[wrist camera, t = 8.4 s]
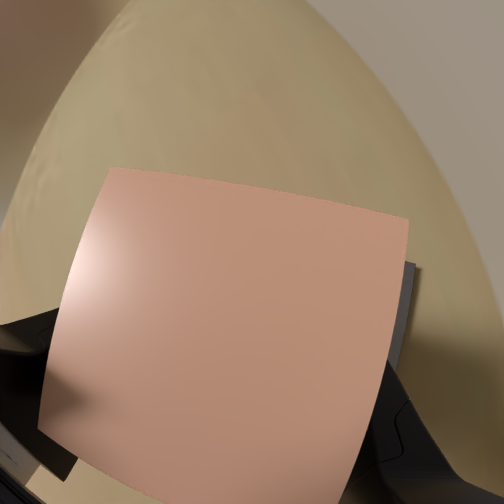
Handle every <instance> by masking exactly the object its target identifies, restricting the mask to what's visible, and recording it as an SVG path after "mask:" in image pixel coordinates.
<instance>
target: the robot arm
mask: <svg viewBox="0 0 504 504" xmlns="http://www.w3.org/2000/svg"><path fill="white" fill-rule="evenodd" d="M59 308H60V307H59ZM59 308H56V309H54V310H51V311H48V312H45V313H41V314H38V315H35V316H32V317H28V318H25V319H22V320H18V321H15V322H11V323H8V324H4V325H0V504H46V503H45V502H44V501H42V500H41V499H40V498H39V497H37V496H36V495H35V494H34V493H32V492H31V491H30V490H29V489H28V488H26V487H25V485H26V484H27V482H28V481H29V480H30V478H31V477H32V475H33V474H34V473H35V471H36V470H37V468H38V467H39V466H40V465H41V466H43V467H44V468H45V469H46V470H48V471H49V472H50V473H52V474H53V475H54V476H56V477H57V478H59V479H60V480H61V481H63V482H64V481H65V480H66V478H67V477H68V475H69V473H70V471H71V470H72V468H73V466H74V465H75V463H76V461H77V460H78V458H79V457H77V456H76V455H74V454H73V453H71V452H70V451H68V450H67V449H65V448H64V447H62V446H61V445H59V444H58V443H56V442H55V441H54V440H52V439H51V438H50V437H48V436H47V435H45V434H44V433H43V432H41V431H40V430H39V429H38V420H39V411H40V403H41V396H42V389H43V383H44V377H45V371H46V365H47V360H48V355H49V350H50V345H51V341H52V336H53V332H54V328H55V324H56V320H57V316H58V312H59ZM338 504H504V498H503V497H500V496H498V495H495V494H493V493H491V492H488V491H486V490H483V489H481V488H479V487H477V486H474V485H472V484H470V483H468V482H466V481H464V480H463V479H461V478H460V477H459V476H458V475H457V474H456V473H455V472H454V470H453V469H452V467H451V466H450V464H449V463H448V461H447V460H446V458H445V457H444V455H443V454H442V452H441V451H440V449H439V447H438V446H437V444H436V443H435V441H434V440H433V438H432V437H431V435H430V434H429V432H428V430H427V429H426V427H425V426H424V424H423V422H422V421H421V419H420V417H419V415H418V413H417V412H416V410H415V408H414V406H413V404H412V402H411V400H409V397H408V395H407V393H406V391H405V389H404V387H403V386H402V384H401V382H400V380H399V378H398V376H397V375H396V373H395V371H394V369H393V367H392V366H391V364H390V362H389V360H388V358H387V361H386V365H385V369H384V373H383V377H382V380H381V384H380V388H379V391H378V395H377V398H376V402H375V405H374V408H373V412H372V415H371V418H370V421H369V424H368V427H367V430H366V433H365V436H364V439H363V442H362V445H361V448H360V451H359V453H358V456H357V459H356V461H355V464H354V467H353V469H352V472H351V474H350V477H349V479H348V481H347V484H346V486H345V489H344V491H343V493H342V496H341V498H340V500H339V502H338Z"/></svg>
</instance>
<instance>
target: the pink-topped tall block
mask: <svg viewBox="0 0 504 504" xmlns="http://www.w3.org/2000/svg"><path fill="white" fill-rule="evenodd" d="M408 228H409V219H405V218H401V217H397V216H393V215H388V214H384V213H380V212H376V211H372V210H367V209H363V208H359V207H354V206H350V205H345V204H341V203H336V202H331V201H327V200H322V199H317V198H312V197H307V196H302V195H297V194H292V193H287V192H281V191H276V190H270V189H265V188H259V187H254V186H248V185H242V184H236V183H230V182H223V181H217V180H211V179H204V178H197V177H190V176H183V175H176V174H168V173H160V172H152V171H144V170H136V169H127V168H117V167H111V168H110V170H109V172H108V174H107V176H106V179H105V181H104V183H103V185H102V188H101V190H100V192H99V195H98V197H97V199H96V202H95V204H94V207H93V209H92V212H91V214H90V217H89V219H88V222H87V224H86V227H85V230H84V232H83V235H82V238H81V241H80V244H79V246H78V249H77V252H76V255H75V258H74V261H73V264H72V267H71V270H70V273H69V277H68V280H67V283H66V287H65V290H64V293H63V297H62V301H61V304H60V308H59V312H58V316H57V320H56V324H55V328H54V332H53V336H52V341H51V345H50V350H49V355H48V360H47V365H46V371H45V377H44V383H43V389H42V396H41V403H40V411H39V420H38V429H39V430H40V431H41V432H43V433H44V434H45V435H47V436H48V437H50V438H51V439H52V440H54V441H55V442H56V443H58V444H59V445H61V446H62V447H64V448H65V449H67V450H68V451H70V452H71V453H73V454H74V455H76V456H77V457H79V458H80V459H82V460H83V461H85V462H87V463H88V464H90V465H92V466H93V467H95V468H97V469H98V470H100V471H102V472H103V473H105V474H107V475H109V476H110V477H112V478H114V479H116V480H118V481H120V482H122V483H123V484H125V485H127V486H129V487H131V488H133V489H135V490H137V491H139V492H141V493H144V494H146V495H148V496H150V497H152V498H154V499H157V500H159V501H161V502H164V503H166V504H338V502H339V500H340V498H341V496H342V493H343V491H344V489H345V486H346V484H347V481H348V479H349V477H350V474H351V472H352V469H353V467H354V464H355V461H356V459H357V456H358V453H359V451H360V448H361V445H362V442H363V439H364V436H365V433H366V430H367V427H368V424H369V421H370V418H371V415H372V412H373V408H374V405H375V402H376V398H377V395H378V391H379V388H380V384H381V380H382V377H383V373H384V369H385V365H386V361H387V357H388V352H389V348H390V343H391V339H392V334H393V329H394V324H395V319H396V314H397V309H398V303H399V297H400V291H401V285H402V278H403V271H404V264H405V256H406V248H407V238H408Z"/></svg>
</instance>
